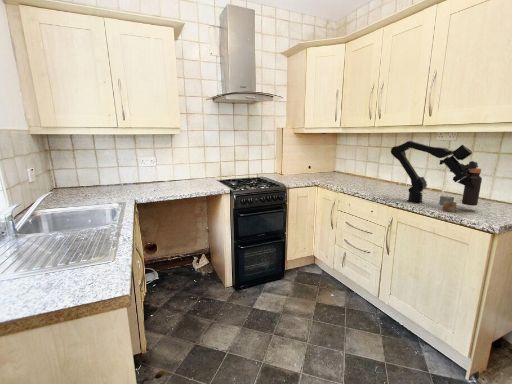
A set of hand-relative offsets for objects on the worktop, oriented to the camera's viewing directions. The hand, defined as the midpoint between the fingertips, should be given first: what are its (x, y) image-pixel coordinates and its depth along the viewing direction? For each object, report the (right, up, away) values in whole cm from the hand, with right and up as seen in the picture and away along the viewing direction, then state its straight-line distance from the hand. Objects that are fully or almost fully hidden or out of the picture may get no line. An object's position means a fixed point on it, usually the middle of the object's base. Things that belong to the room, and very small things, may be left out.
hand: (475, 187), depth 144 cm
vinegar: (-1, -9, +3) cm, 10 cm away
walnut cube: (-12, -13, +4) cm, 18 cm away
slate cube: (-4, -10, +17) cm, 20 cm away
